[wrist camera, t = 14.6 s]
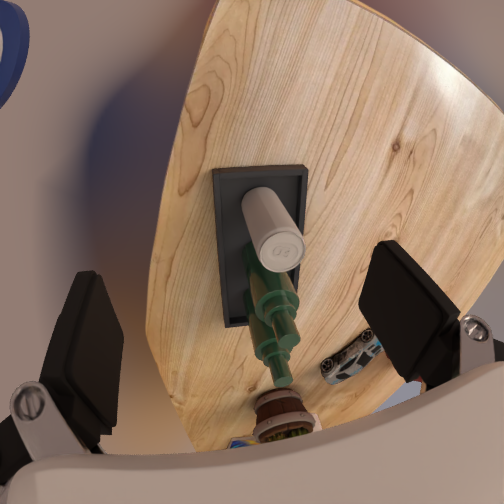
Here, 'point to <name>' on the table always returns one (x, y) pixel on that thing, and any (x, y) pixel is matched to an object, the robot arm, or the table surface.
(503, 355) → the robot arm
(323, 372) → the toy car
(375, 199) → the table surface
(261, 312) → the middle bottle
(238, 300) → the tray
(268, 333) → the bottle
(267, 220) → the beverage can
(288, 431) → the flowerpot
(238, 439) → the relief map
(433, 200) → the table surface
